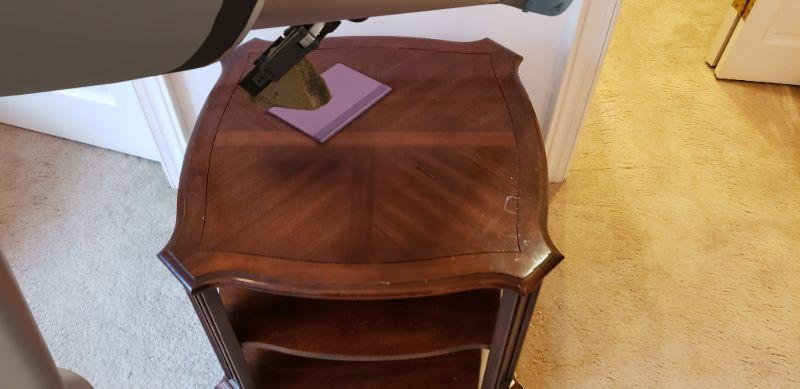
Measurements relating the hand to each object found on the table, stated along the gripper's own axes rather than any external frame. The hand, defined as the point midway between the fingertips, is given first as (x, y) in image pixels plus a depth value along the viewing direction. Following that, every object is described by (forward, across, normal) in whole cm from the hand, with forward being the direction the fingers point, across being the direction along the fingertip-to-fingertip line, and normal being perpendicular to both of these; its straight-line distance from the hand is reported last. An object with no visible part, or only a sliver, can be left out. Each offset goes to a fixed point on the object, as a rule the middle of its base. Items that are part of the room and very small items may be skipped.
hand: (254, 78), depth 75 cm
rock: (0, +1, -6) cm, 6 cm away
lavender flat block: (+9, +17, -14) cm, 24 cm away
